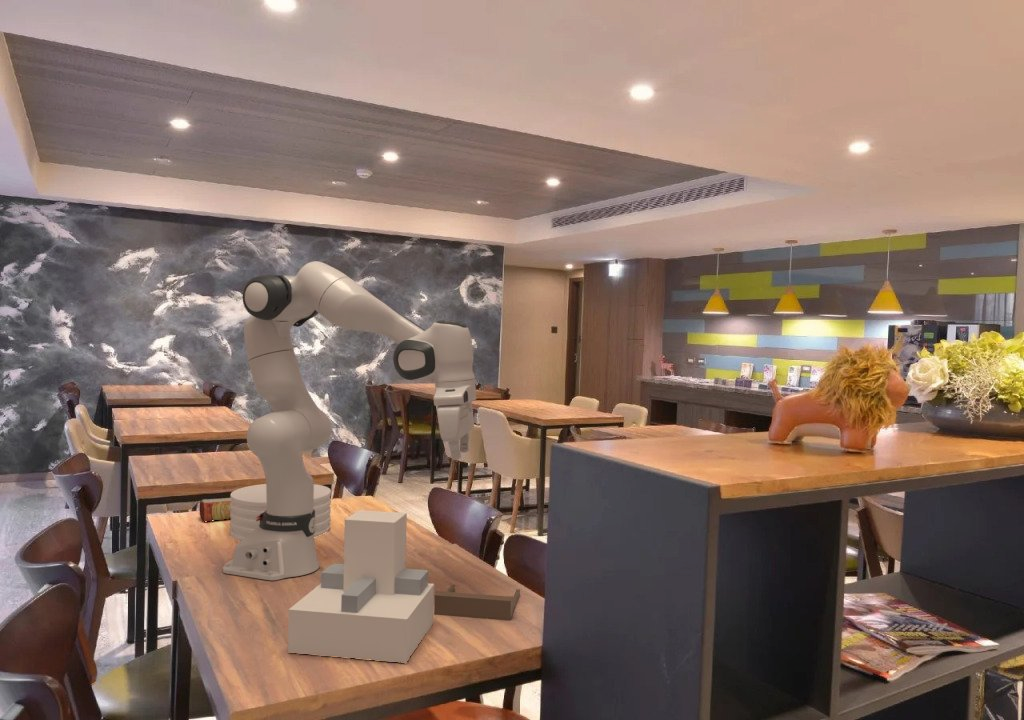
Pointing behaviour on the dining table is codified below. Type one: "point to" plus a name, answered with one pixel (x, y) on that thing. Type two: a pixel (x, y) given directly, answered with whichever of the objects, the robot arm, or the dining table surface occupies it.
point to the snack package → (215, 509)
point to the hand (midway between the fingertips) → (460, 455)
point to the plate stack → (253, 503)
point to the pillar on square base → (366, 597)
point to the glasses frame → (475, 604)
